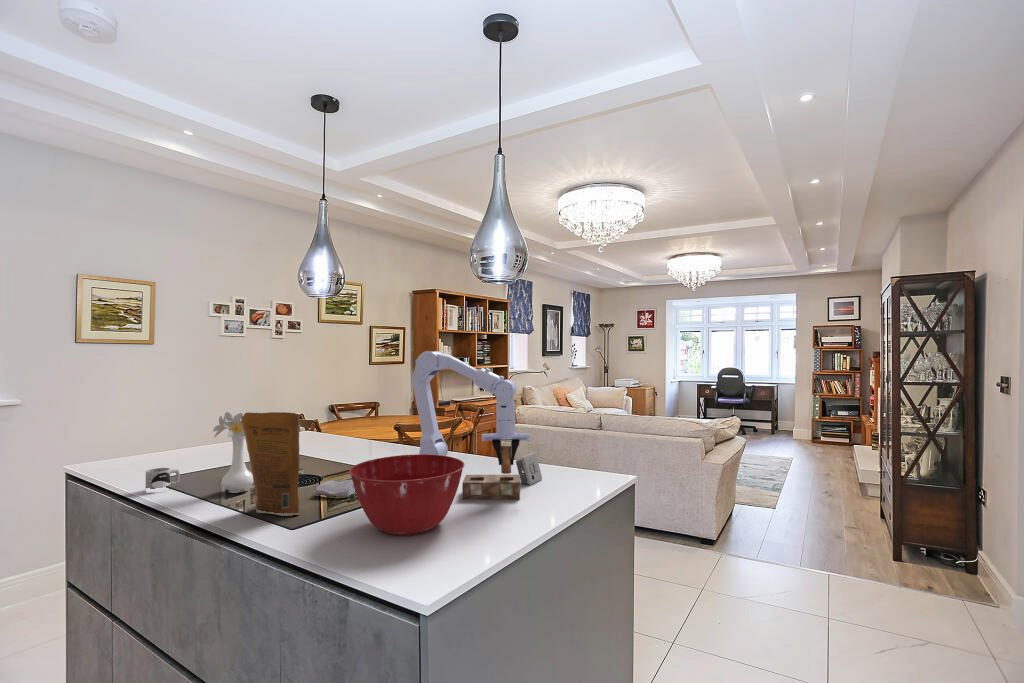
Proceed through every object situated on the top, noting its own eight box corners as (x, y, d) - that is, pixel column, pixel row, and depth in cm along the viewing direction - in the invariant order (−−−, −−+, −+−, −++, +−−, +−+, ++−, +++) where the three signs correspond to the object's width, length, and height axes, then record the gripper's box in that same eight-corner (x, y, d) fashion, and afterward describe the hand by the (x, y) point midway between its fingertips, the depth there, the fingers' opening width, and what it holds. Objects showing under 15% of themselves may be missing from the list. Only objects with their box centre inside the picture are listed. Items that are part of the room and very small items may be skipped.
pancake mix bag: (290, 521, 139) (290, 414, 140) (238, 512, 147) (238, 411, 147) (309, 513, 146) (309, 411, 146) (259, 506, 153) (258, 408, 154)
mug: (152, 494, 167) (152, 473, 167) (141, 491, 171) (141, 471, 171) (185, 487, 176) (185, 467, 176) (174, 484, 179) (174, 465, 179)
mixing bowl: (416, 556, 115) (415, 484, 115) (323, 534, 129) (323, 470, 129) (485, 519, 140) (485, 459, 140) (401, 504, 153) (401, 450, 154)
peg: (500, 473, 161) (500, 447, 161) (501, 471, 164) (501, 445, 164) (510, 473, 160) (510, 447, 160) (511, 471, 163) (511, 445, 163)
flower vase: (246, 499, 160) (246, 416, 161) (201, 494, 167) (201, 414, 167) (278, 488, 173) (278, 411, 173) (235, 484, 179) (235, 409, 179)
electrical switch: (530, 486, 173) (527, 457, 174) (516, 485, 176) (514, 457, 176) (542, 479, 182) (540, 452, 182) (529, 479, 184) (526, 452, 185)
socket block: (462, 499, 158) (462, 482, 158) (466, 490, 168) (466, 474, 168) (519, 499, 157) (519, 482, 157) (520, 490, 168) (519, 474, 168)
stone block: (350, 505, 160) (361, 490, 170) (348, 490, 159) (360, 476, 169) (311, 506, 161) (325, 491, 171) (309, 491, 160) (324, 477, 170)
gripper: (480, 421, 159) (481, 467, 158) (529, 421, 158) (530, 467, 158) (482, 418, 166) (483, 462, 165) (529, 418, 165) (529, 462, 165)
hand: (506, 464), depth 162 cm, fingers closed on peg, 3 cm apart
